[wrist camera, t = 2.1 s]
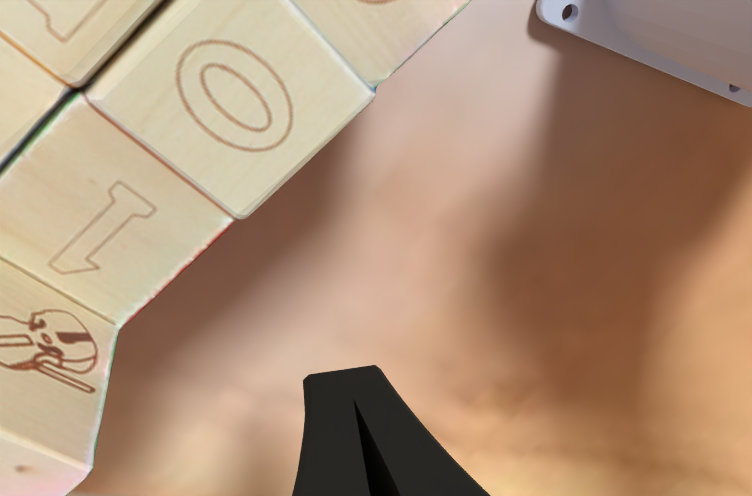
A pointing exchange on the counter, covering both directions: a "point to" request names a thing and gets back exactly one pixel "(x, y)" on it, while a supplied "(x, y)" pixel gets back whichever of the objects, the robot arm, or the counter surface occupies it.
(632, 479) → the counter surface
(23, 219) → the stack of blocks
